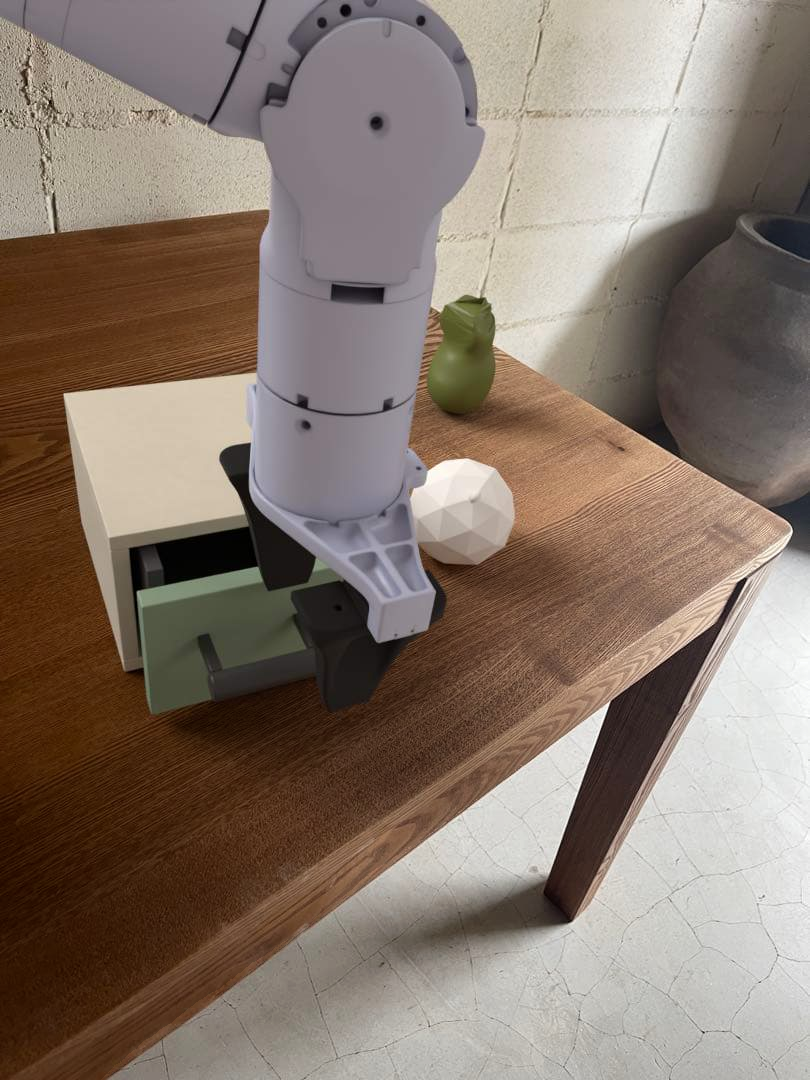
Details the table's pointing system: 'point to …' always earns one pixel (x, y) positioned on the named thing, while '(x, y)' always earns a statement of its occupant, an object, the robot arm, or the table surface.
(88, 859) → the table surface
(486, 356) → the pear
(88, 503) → the storage box
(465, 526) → the ornament
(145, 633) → the drawer
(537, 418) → the table surface
